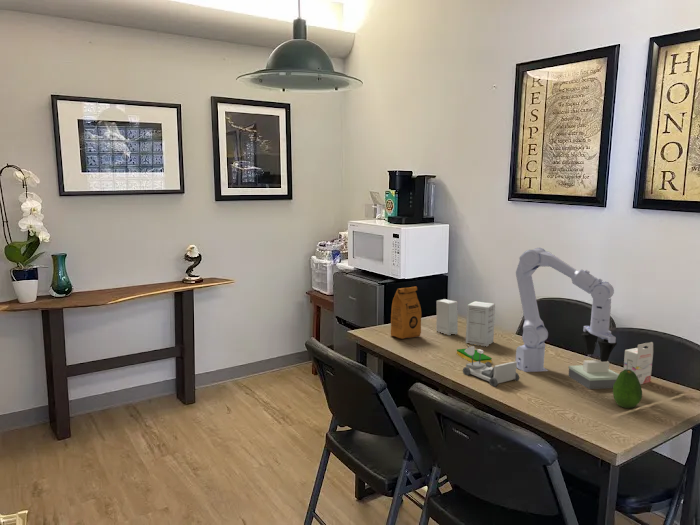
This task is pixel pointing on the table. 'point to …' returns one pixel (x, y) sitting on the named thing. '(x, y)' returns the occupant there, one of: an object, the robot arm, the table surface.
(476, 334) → the supplement box
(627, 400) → the avocado
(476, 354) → the dish sponge
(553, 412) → the table surface
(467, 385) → the table surface
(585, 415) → the table surface
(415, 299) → the coffee package
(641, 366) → the ink cartridge box
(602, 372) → the lid
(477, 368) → the toy car
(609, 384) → the storage box
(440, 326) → the skincare box
